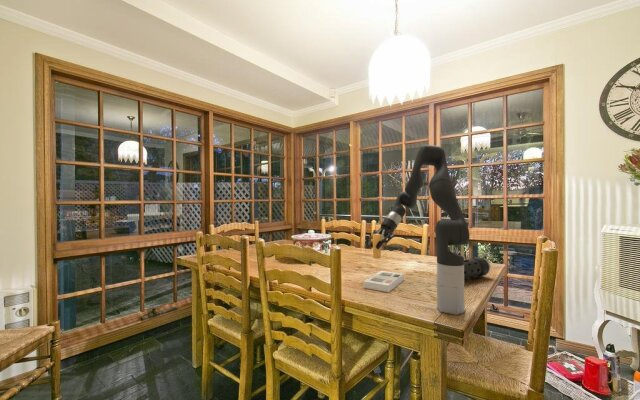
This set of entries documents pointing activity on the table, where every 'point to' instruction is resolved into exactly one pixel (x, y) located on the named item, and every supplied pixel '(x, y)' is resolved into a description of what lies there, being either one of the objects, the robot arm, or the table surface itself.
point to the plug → (375, 251)
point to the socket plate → (384, 281)
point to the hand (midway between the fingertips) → (373, 247)
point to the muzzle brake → (475, 267)
